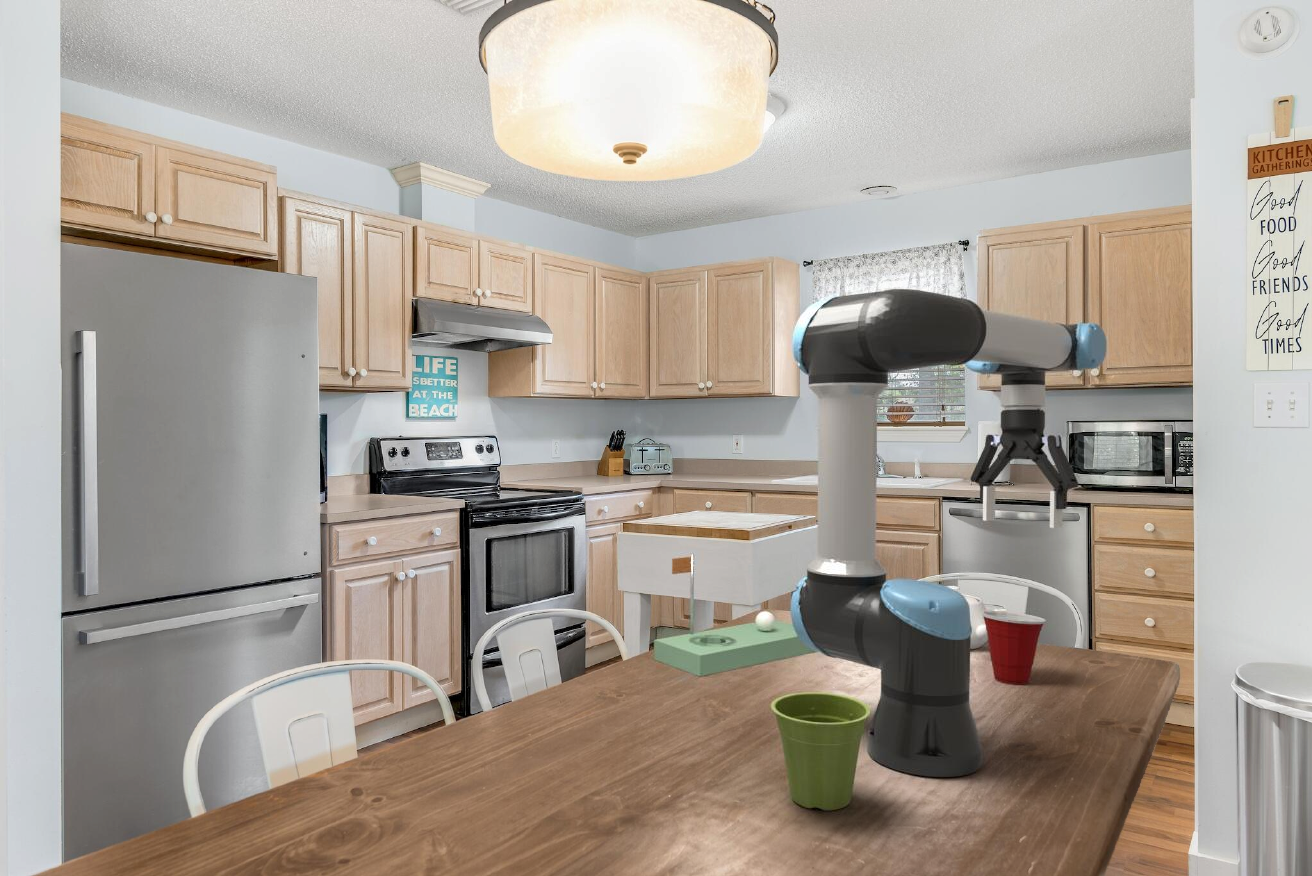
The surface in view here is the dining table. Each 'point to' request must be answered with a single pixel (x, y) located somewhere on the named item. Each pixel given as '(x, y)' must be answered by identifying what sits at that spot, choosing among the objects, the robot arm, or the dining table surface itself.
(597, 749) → the dining table surface
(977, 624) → the teapot
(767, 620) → the ball
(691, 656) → the putting board
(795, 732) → the plant pot
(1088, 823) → the dining table surface
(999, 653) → the plastic cup
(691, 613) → the flag
